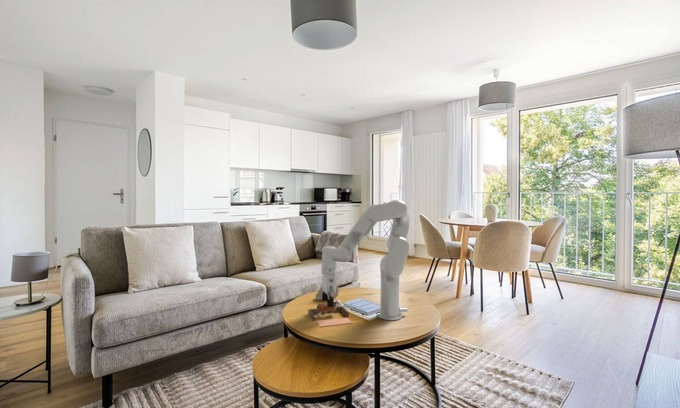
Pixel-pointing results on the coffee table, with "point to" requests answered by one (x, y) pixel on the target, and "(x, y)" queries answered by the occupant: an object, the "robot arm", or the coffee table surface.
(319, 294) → the fossil tooth
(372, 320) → the coffee table surface
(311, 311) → the stall
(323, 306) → the bull figurine
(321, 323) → the mat
